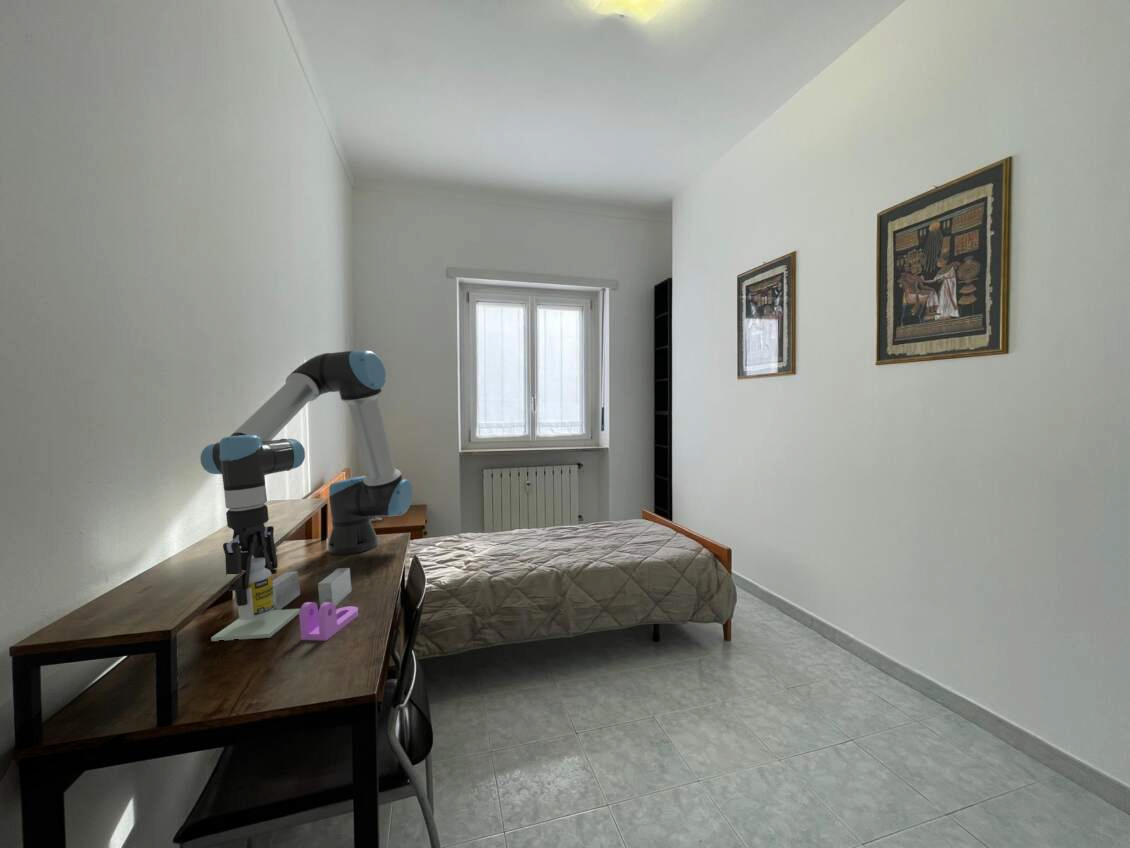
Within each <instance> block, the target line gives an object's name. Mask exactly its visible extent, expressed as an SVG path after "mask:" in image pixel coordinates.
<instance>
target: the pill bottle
mask: <svg viewBox="0 0 1130 848" xmlns="http://www.w3.org/2000/svg"><path fill="white" fill-rule="evenodd" d="M265 565H266V562H265V558H254V557H251V565H250V575H249V584H248V588H250V587H251V589H252V599H253V609H254V618H257V617H260V616H263V615H266V614H268V613H270V612H271V611H272V610H273V609H274V596H273V585H272V581H273V574H272V575H271V571H270V570H269V569H266V568H265ZM242 584H243V583H242Z"/></svg>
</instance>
